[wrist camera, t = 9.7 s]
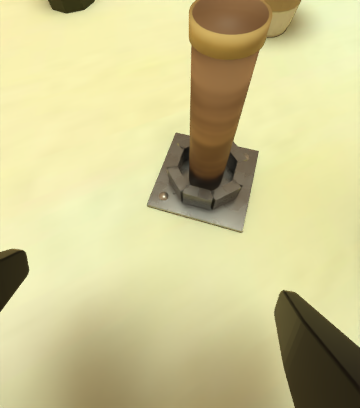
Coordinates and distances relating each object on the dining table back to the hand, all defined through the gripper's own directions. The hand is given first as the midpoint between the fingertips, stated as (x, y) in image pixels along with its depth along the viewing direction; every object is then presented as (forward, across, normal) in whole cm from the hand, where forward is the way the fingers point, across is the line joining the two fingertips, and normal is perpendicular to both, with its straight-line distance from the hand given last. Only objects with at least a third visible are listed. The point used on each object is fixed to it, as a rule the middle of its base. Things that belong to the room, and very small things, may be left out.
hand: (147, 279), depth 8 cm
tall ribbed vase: (+18, -2, 0) cm, 18 cm away
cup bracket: (+18, -2, +1) cm, 18 cm away
